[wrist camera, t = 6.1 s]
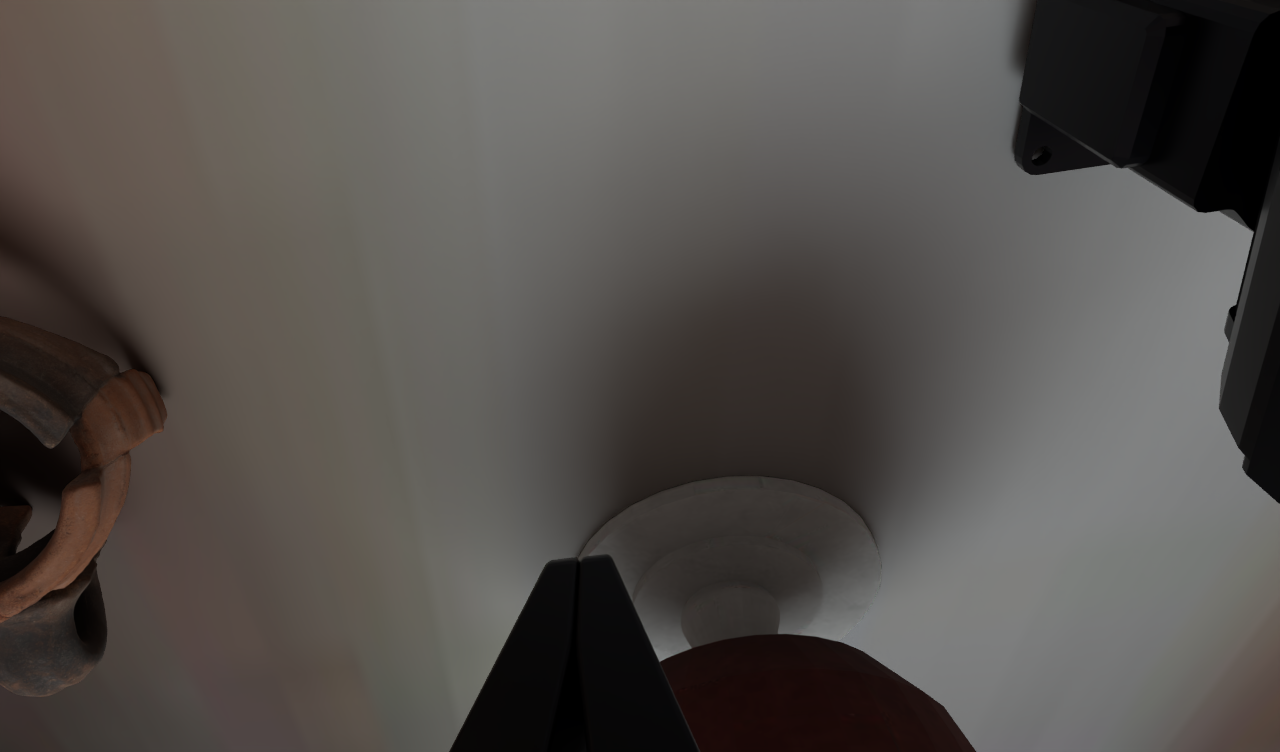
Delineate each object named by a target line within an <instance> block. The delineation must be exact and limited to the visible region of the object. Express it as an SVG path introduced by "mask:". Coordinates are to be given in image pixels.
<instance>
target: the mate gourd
mask: <svg viewBox="0 0 1280 752" xmlns="http://www.w3.org/2000/svg"><path fill="white" fill-rule="evenodd" d="M602 554H608V555H610V556H611V557H612V558H613V560H614V562H615V565H616V567H617V569H618V571H619V573H620V576H621V578H622V580H623V582H624V584H625V587H626V589H627V591H628V593H629V595H630V598H631V600H632V602H633V604H634V607H635V609H636V611H637V613H638V615H639V618H640V620H641V622H642V624H643V626H644V629H645V631H646V633H647V635H648V637H649V640H650V642H651V644H652V646H653V649H654V651H655V653H656V655H657V657H658V660H659V662H660V664H661V666H662V668H663V671H664V673H665V675H666V677H667V679H668V682H669V684H670V686H671V688H672V690H673V693H674V695H675V697H676V699H677V702H678V704H679V706H680V708H681V710H682V713H683V715H684V717H685V719H686V721H687V724H688V726H689V728H690V730H691V732H692V735H693V737H694V739H695V741H696V744H697V746H698V748H699V750H700V752H976V751H975V749H974V748H973V747H972V745H971V744H970V742H969V741H968V740H967V738H966V737H965V735H964V734H963V733H962V731H961V730H960V729H959V727H958V726H957V724H956V723H955V722H954V720H953V719H952V717H951V716H950V715H949V713H948V712H947V710H946V709H945V708H944V706H942V705H941V704H940V703H938V702H937V701H935V700H934V699H933V698H931V697H930V696H929V695H927V694H926V693H924V692H923V691H922V690H920V689H919V688H917V687H916V686H914V685H913V684H911V683H910V682H908V681H907V680H905V679H904V678H902V677H901V676H899V675H898V674H896V673H895V672H893V671H892V670H890V669H888V668H887V667H885V666H884V665H882V664H881V663H879V662H878V661H876V660H875V659H873V658H872V657H870V656H869V655H867V654H866V653H864V652H863V651H861V650H858V649H856V648H854V647H851V646H849V645H847V644H844V643H842V642H838V641H839V640H840V639H842V638H843V637H844V636H845V635H846V634H848V633H849V632H850V631H851V630H852V629H853V628H854V627H855V626H856V625H857V624H858V623H859V622H860V621H861V620H862V618H863V617H864V615H865V614H866V613H867V611H868V610H869V608H870V607H871V605H872V604H873V602H874V599H875V597H876V594H877V592H878V589H879V587H880V581H881V569H882V565H881V561H880V557H879V553H878V549H877V546H876V543H875V541H874V539H873V536H872V534H871V532H870V531H869V529H868V527H867V526H866V524H865V523H864V521H863V520H862V518H861V516H859V515H858V514H857V513H856V512H855V511H854V510H853V509H852V508H850V507H849V506H848V505H847V504H846V503H845V502H844V501H842V500H840V499H838V498H836V497H835V496H833V495H831V494H829V493H827V492H825V491H823V490H821V489H819V488H816V487H813V486H809V485H806V484H803V483H800V482H796V481H793V480H787V479H779V478H772V477H764V476H729V477H721V478H714V479H708V480H701V481H695V482H691V483H687V484H684V485H681V486H677V487H674V488H671V489H667V490H664V491H661V492H659V493H656V494H654V495H652V496H650V497H648V498H646V499H644V500H641V501H639V502H637V503H635V504H633V505H631V506H630V507H628V508H627V509H625V510H624V511H622V512H621V513H619V514H618V515H616V516H615V517H614V518H612V519H611V520H609V521H608V522H607V523H606V524H605V525H604V526H603V527H602V528H601V529H600V530H599V531H598V532H597V533H596V534H595V535H594V536H593V537H592V538H591V539H590V540H589V541H588V543H587V544H586V546H585V547H584V549H583V551H582V552H581V554H580V555H579V557H578V560H579V561H580V560H581V559H582V558H583V557H585V556H593V555H602Z"/></svg>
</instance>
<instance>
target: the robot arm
mask: <svg viewBox="0 0 1280 752" xmlns="http://www.w3.org/2000/svg"><path fill="white" fill-rule="evenodd" d="M1019 101H1020V103H1021V104H1022V105H1023V111H1022V116H1021V122H1020V127H1019V132H1018V137H1017V143H1016V148H1015V153H1014V155H1015V162H1016V164H1017V165H1018V166H1019V167H1020V168H1021V169H1023V170H1024V171H1025V172H1027V173H1029V174H1030V175H1040V174H1047V173H1054V172H1061V171H1067V170H1074V169H1081V168H1088V167H1095V166H1101V165H1108V164H1112V165H1113V166H1115V167H1117V168H1129V169H1130V170H1132V171H1133V172H1135V173H1137V174H1138V175H1140V176H1141V177H1143V178H1145V179H1146V180H1148V181H1149V182H1151V183H1153V184H1154V185H1156V186H1157V187H1159V188H1160V189H1162V190H1164V191H1165V192H1167V193H1168V194H1170V195H1172V196H1173V197H1175V198H1176V199H1178V200H1180V201H1181V202H1183V203H1184V204H1186V205H1188V206H1189V207H1191V208H1192V209H1194V210H1196V211H1197V212H1203V213H1207V212H1214V211H1220V212H1221V213H1223V214H1225V215H1226V216H1228V217H1230V218H1231V219H1233V220H1235V221H1236V222H1238V223H1239V224H1241V225H1243V226H1244V227H1246V228H1248V229H1249V230H1251V231H1253V232H1254V234H1253V238H1252V242H1251V246H1250V250H1249V254H1248V259H1247V263H1246V267H1245V271H1244V275H1243V279H1242V283H1241V287H1240V291H1239V296H1238V300H1237V304H1236V305H1235V306H1233V307H1231V308H1230V309H1229V312H1228V316H1227V320H1226V325H1225V329H1224V332H1225V335H1226V337H1227V339H1228V341H1229V346H1228V350H1227V354H1226V358H1225V362H1224V366H1223V370H1222V375H1221V388H1220V402H1219V410H1220V412H1221V414H1222V416H1223V418H1224V420H1225V422H1226V424H1227V426H1228V428H1229V430H1230V432H1231V434H1232V436H1233V438H1234V440H1235V442H1236V444H1237V446H1238V448H1239V449H1240V450H1241V451H1242V453H1243V454H1244V455H1245V457H1244V460H1243V465H1242V468H1243V470H1244V471H1245V473H1246V475H1247V476H1249V477H1250V478H1251V479H1252V480H1253V481H1254V482H1255V483H1256V484H1258V485H1259V486H1260V487H1261V488H1262V489H1263V490H1264V491H1266V492H1267V493H1268V494H1269V495H1270V496H1271V497H1272V498H1273V499H1275V500H1276V501H1277V502H1278V503H1279V504H1280V0H1038V1H1037V6H1036V12H1035V17H1034V23H1033V28H1032V33H1031V39H1030V44H1029V49H1028V55H1027V60H1026V65H1025V71H1024V76H1023V82H1022V87H1021V92H1020V98H1019ZM1043 146H1044V150H1043V152H1042V154H1041V155H1040V156H1039V157H1038V158H1036V159H1034V160H1032V155H1033V153H1034V152H1035V151H1036V150H1037V149H1038V148H1040V147H1043ZM449 752H700V750H699V748H698V746H697V744H696V741H695V739H694V737H693V735H692V732H691V730H690V728H689V726H688V724H687V721H686V719H685V717H684V715H683V713H682V710H681V708H680V706H679V704H678V702H677V699H676V697H675V695H674V693H673V690H672V688H671V686H670V684H669V682H668V679H667V677H666V675H665V673H664V671H663V668H662V666H661V664H660V662H659V660H658V657H657V655H656V653H655V651H654V649H653V646H652V644H651V642H650V640H649V637H648V635H647V633H646V631H645V629H644V626H643V624H642V622H641V620H640V618H639V615H638V613H637V611H636V609H635V607H634V604H633V602H632V600H631V598H630V595H629V593H628V591H627V589H626V587H625V584H624V582H623V580H622V578H621V576H620V573H619V571H618V569H617V567H616V565H615V562H614V560H613V558H612V557H611V556H610V555H608V554H602V555H593V556H585V557H583V558H582V559H581V560H580V561H579V560H578V559H577V558H566V559H557V560H551V561H549V562H548V563H547V564H546V565H545V567H544V569H543V571H542V573H541V574H540V576H539V578H538V580H537V582H536V584H535V586H534V588H533V590H532V592H531V594H530V596H529V598H528V600H527V602H526V604H525V606H524V607H523V609H522V611H521V613H520V615H519V617H518V619H517V621H516V623H515V625H514V627H513V629H512V631H511V633H510V635H509V637H508V639H507V640H506V642H505V644H504V646H503V648H502V650H501V652H500V654H499V656H498V658H497V660H496V662H495V664H494V666H493V668H492V670H491V672H490V673H489V675H488V677H487V679H486V681H485V683H484V685H483V687H482V689H481V691H480V693H479V695H478V697H477V699H476V701H475V703H474V705H473V707H472V708H471V710H470V712H469V714H468V716H467V718H466V720H465V722H464V724H463V726H462V728H461V730H460V732H459V734H458V736H457V738H456V740H455V741H454V743H453V745H452V747H451V749H450V751H449Z"/></svg>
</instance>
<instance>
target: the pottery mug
mask: <svg viewBox="0 0 1280 752" xmlns="http://www.w3.org/2000/svg"><path fill="white" fill-rule="evenodd" d="M0 409H1V410H2V411H4V412H6V413H7V414H9V415H10V416H12V417H13V418H15V419H16V420H18V421H19V422H20V423H22V424H23V425H24V426H25V427H26V428H27V429H29V430H30V431H31V432H32V433H33V434H34V435H35V436H36V437H37V438H38V439H39V440H40V442H41V443H42V444H43V445H45V446H46V447H47V448H50V449H51V448H54V447H55V446H57V445H58V444H59V443H60V442H61V440H62V439H63V438H64V437H65V435H66V434H67V432H68V431H70V432H71V435H72V438H73V440H74V443H75V444H76V445H77V447H78V449H79V452H80V456H81V474H80V475H79V476H77V477H76V478H75V479H73V480H72V481H71V482H70V483H69V484H68V485H67V486H66V487H65V488H64V490H63V492H62V501H61V510H60V515H59V519H58V522H57V526H56V528H55V529H54V530H52V531H51V532H50V533H49V534H47V535H46V536H45V537H43V538H42V539H40V540H38V541H37V542H35V543H33V544H32V545H31V546H29V547H28V548H26V549H24V550H22V551H21V552H18V553H16V550H17V547H18V545H19V544H20V542H21V539H22V537H21V533H22V531H23V530H24V529H25V527H26V525H27V524H28V522H29V521H30V519H31V516H32V508H31V507H30V506H29V505H21V506H3V507H0V685H2V686H3V687H5V688H6V689H8V690H9V691H11V692H12V693H15V694H18V695H23V696H37V697H44V696H48V695H52V694H55V693H57V692H59V691H60V690H62V689H64V688H65V687H67V686H70V685H74V684H76V683H79V682H80V681H82V680H83V679H84V678H85V677H86V676H87V675H88V673H89V672H90V671H91V670H92V669H93V668H94V667H95V666H96V665H97V664H98V663H99V662H100V660H101V659H102V657H103V654H104V651H105V647H106V642H107V622H106V615H105V608H104V602H103V598H102V592H101V588H100V583H99V580H98V575H97V569H96V567H97V563H96V560H97V558H98V557H99V555H100V551H101V549H102V548H103V546H104V545H105V544H106V541H107V537H108V535H109V533H110V531H111V529H112V527H113V525H114V523H115V521H116V518H117V516H118V515H119V513H120V511H121V508H122V507H123V505H124V502H125V499H126V495H127V491H128V487H129V481H130V472H131V457H130V455H129V451H130V450H131V449H133V448H134V447H136V446H137V445H139V444H141V443H142V442H143V441H144V440H146V439H147V438H148V437H150V436H152V435H153V434H154V433H160V432H162V431H163V429H164V426H163V424H164V422H165V420H166V418H167V412H166V408H165V405H164V402H163V400H162V398H161V396H160V394H159V392H158V390H157V388H156V386H155V383H154V381H153V380H152V378H151V377H150V375H149V374H147V373H145V372H138V371H137V370H135V369H130V370H127V371H124V372H122V373H119V367H118V365H117V363H116V362H115V361H114V360H113V359H111V358H110V357H108V356H106V355H104V354H101V353H98V352H96V351H94V350H92V349H90V348H88V347H86V346H84V345H82V344H79V343H77V342H74V341H72V340H69V339H67V338H64V337H61V336H59V335H56V334H53V333H51V332H47V331H44V330H42V329H40V328H37V327H35V326H32V325H28V324H25V323H22V322H19V321H15V320H13V319H10V318H6V317H1V316H0Z"/></svg>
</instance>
